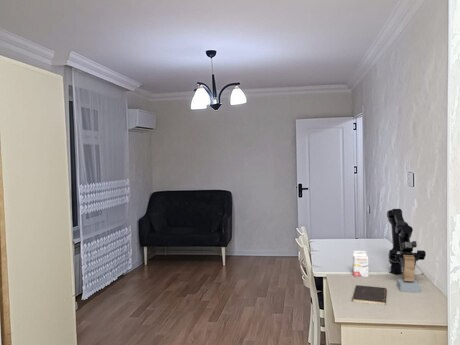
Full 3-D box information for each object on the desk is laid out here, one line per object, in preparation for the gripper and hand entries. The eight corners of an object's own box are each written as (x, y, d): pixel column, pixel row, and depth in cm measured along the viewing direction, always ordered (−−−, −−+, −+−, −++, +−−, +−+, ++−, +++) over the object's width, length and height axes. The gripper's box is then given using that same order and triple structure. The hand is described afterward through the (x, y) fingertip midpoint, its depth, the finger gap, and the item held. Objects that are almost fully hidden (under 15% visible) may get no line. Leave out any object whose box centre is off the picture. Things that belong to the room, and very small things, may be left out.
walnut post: (402, 278, 253) (403, 254, 252) (412, 278, 252) (412, 255, 251) (404, 280, 248) (404, 257, 247) (414, 281, 247) (414, 257, 246)
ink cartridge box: (354, 276, 276) (354, 252, 275) (352, 274, 281) (352, 250, 280) (368, 276, 275) (368, 252, 274) (367, 274, 280) (367, 250, 279)
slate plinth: (396, 286, 256) (396, 279, 256) (415, 286, 254) (415, 279, 254) (400, 291, 246) (400, 284, 246) (420, 292, 245) (420, 285, 244)
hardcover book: (352, 302, 231) (352, 298, 231) (356, 289, 253) (356, 285, 253) (385, 306, 226) (385, 301, 226) (386, 292, 248) (386, 287, 247)
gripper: (389, 235, 254) (393, 259, 244) (425, 236, 251) (430, 261, 241) (387, 246, 262) (390, 270, 252) (421, 247, 259) (426, 271, 249)
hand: (409, 268), depth 248 cm, fingers closed on walnut post, 5 cm apart
